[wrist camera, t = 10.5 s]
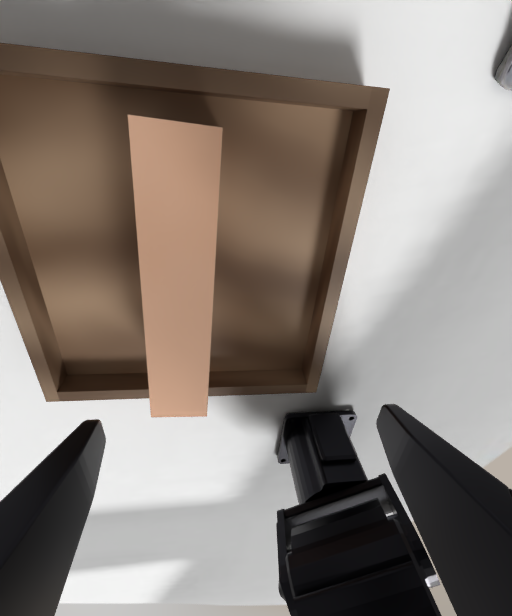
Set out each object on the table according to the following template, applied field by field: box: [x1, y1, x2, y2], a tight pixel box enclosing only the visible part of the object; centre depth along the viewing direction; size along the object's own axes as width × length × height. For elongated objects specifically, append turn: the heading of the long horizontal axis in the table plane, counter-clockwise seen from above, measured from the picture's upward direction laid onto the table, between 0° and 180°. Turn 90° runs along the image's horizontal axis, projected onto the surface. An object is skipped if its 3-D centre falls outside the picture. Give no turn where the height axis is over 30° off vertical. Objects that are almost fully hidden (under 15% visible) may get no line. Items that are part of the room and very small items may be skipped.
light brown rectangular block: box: [128, 115, 223, 417], centre depth 15 cm, size 14×3×5 cm, turn 173°
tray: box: [0, 43, 390, 402], centre depth 17 cm, size 18×18×2 cm
